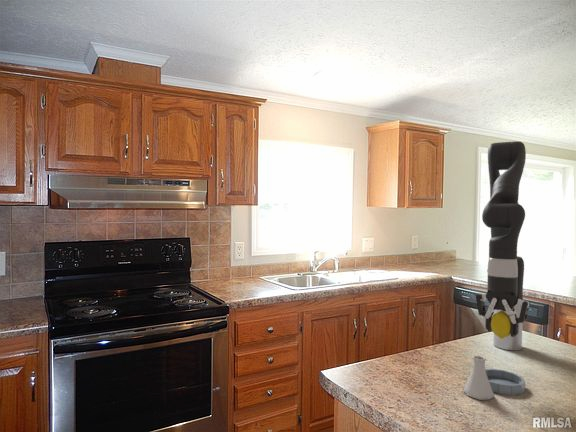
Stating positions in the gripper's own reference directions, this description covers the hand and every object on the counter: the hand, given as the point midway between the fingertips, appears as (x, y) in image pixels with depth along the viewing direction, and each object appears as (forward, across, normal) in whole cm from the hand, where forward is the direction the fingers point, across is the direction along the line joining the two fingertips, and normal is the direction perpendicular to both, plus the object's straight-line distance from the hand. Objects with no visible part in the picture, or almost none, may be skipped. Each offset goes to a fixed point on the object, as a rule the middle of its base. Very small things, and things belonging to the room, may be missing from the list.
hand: (501, 333), depth 115 cm
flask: (+15, +2, +11) cm, 18 cm away
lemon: (+2, 0, 0) cm, 2 cm away
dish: (+15, 0, 0) cm, 15 cm away
